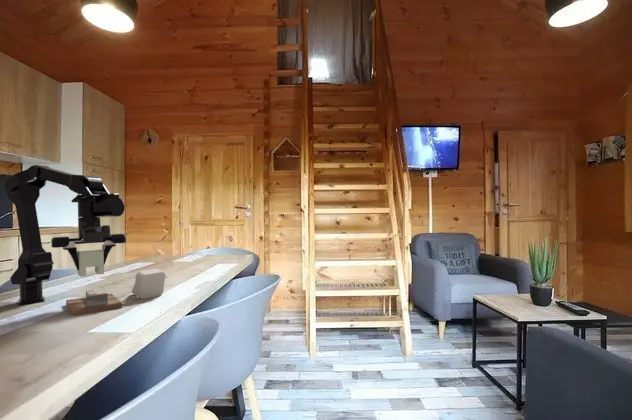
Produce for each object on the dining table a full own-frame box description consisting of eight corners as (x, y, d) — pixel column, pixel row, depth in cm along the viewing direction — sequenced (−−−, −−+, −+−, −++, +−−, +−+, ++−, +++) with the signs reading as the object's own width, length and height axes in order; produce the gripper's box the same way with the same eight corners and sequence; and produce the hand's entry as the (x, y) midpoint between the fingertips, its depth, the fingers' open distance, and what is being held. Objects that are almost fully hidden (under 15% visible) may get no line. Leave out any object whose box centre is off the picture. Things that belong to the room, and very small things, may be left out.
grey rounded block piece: (145, 289, 128) (148, 261, 126) (162, 300, 122) (165, 271, 121) (122, 294, 121) (125, 265, 120) (138, 305, 115) (141, 275, 114)
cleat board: (66, 305, 111) (65, 290, 111) (111, 298, 118) (110, 284, 118) (72, 316, 98) (71, 299, 98) (122, 307, 106) (121, 292, 106)
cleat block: (77, 273, 112) (76, 250, 112) (100, 271, 116) (99, 249, 116) (80, 276, 107) (79, 252, 107) (104, 273, 111) (103, 250, 111)
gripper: (53, 218, 99) (54, 276, 99) (129, 216, 111) (130, 268, 111) (50, 218, 108) (51, 271, 108) (121, 216, 120) (122, 264, 120)
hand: (90, 268), depth 112 cm, fingers closed on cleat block, 6 cm apart
